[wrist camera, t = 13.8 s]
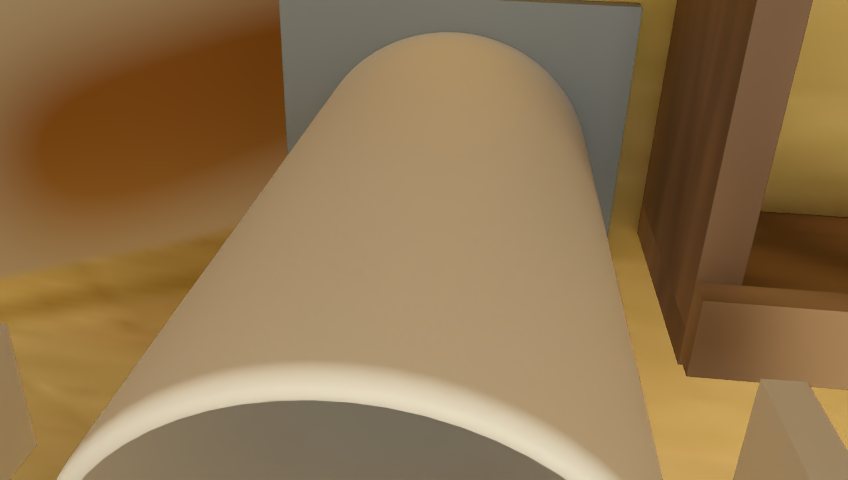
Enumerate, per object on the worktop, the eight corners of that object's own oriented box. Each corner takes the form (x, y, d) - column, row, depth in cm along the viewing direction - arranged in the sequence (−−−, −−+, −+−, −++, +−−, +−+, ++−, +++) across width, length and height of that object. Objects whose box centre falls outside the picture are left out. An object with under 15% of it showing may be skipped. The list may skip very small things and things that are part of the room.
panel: (299, 287, 27) (295, 296, 26) (284, -14, 22) (278, -11, 22) (593, 310, 26) (594, 320, 26) (639, 3, 22) (642, 7, 21)
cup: (295, 248, 26) (22, 755, 11) (343, -3, 22) (21, 291, 8) (538, 312, 26) (565, 892, 12) (627, 74, 22) (831, 504, 8)
